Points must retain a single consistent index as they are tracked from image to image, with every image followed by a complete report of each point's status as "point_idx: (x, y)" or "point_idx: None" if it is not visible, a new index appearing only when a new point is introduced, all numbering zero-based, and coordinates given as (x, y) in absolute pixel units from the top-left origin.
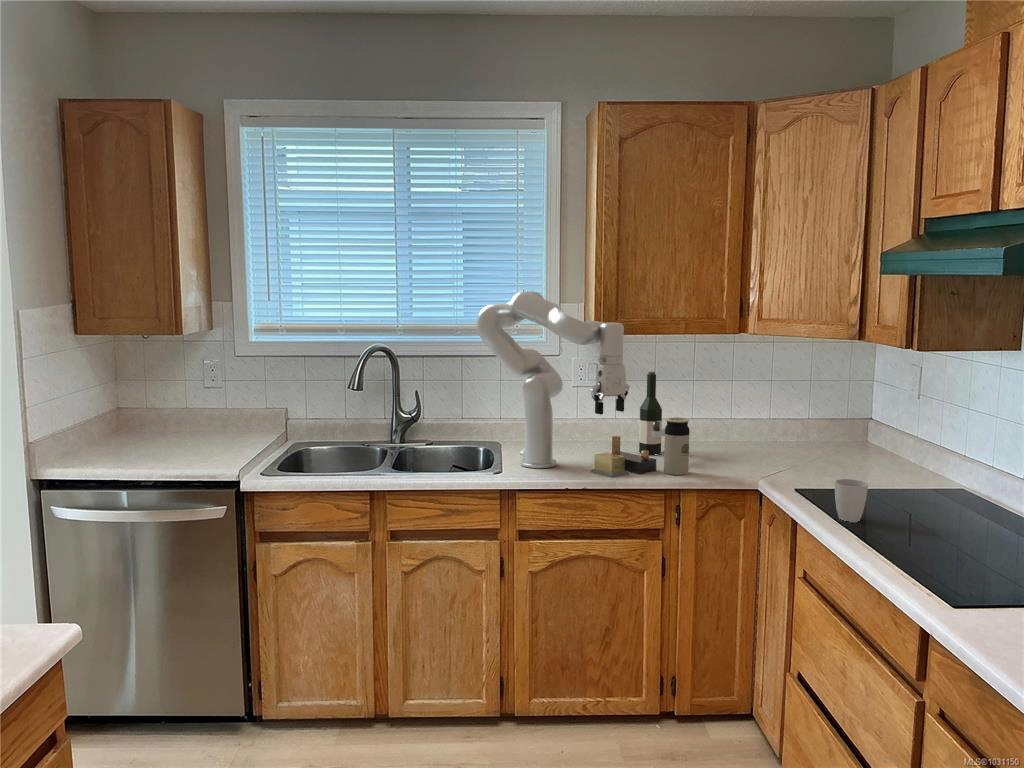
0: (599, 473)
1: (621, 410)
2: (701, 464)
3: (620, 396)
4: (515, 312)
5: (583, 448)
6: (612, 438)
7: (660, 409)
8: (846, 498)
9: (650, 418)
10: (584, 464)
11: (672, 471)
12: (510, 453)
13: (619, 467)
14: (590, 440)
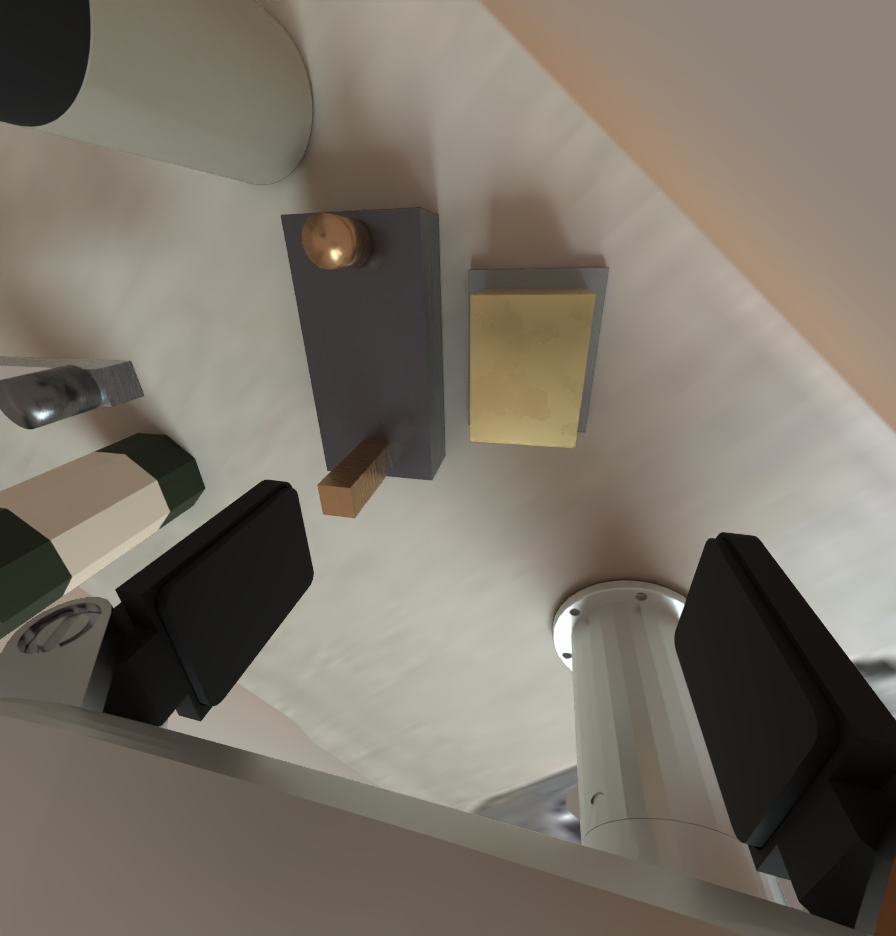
0: (593, 365)
1: (291, 502)
2: (55, 173)
3: (106, 713)
4: None
5: (325, 644)
6: (359, 509)
7: None
8: None
9: (15, 538)
10: (489, 524)
11: (291, 49)
12: (556, 750)
13: (523, 290)
14: (247, 675)
